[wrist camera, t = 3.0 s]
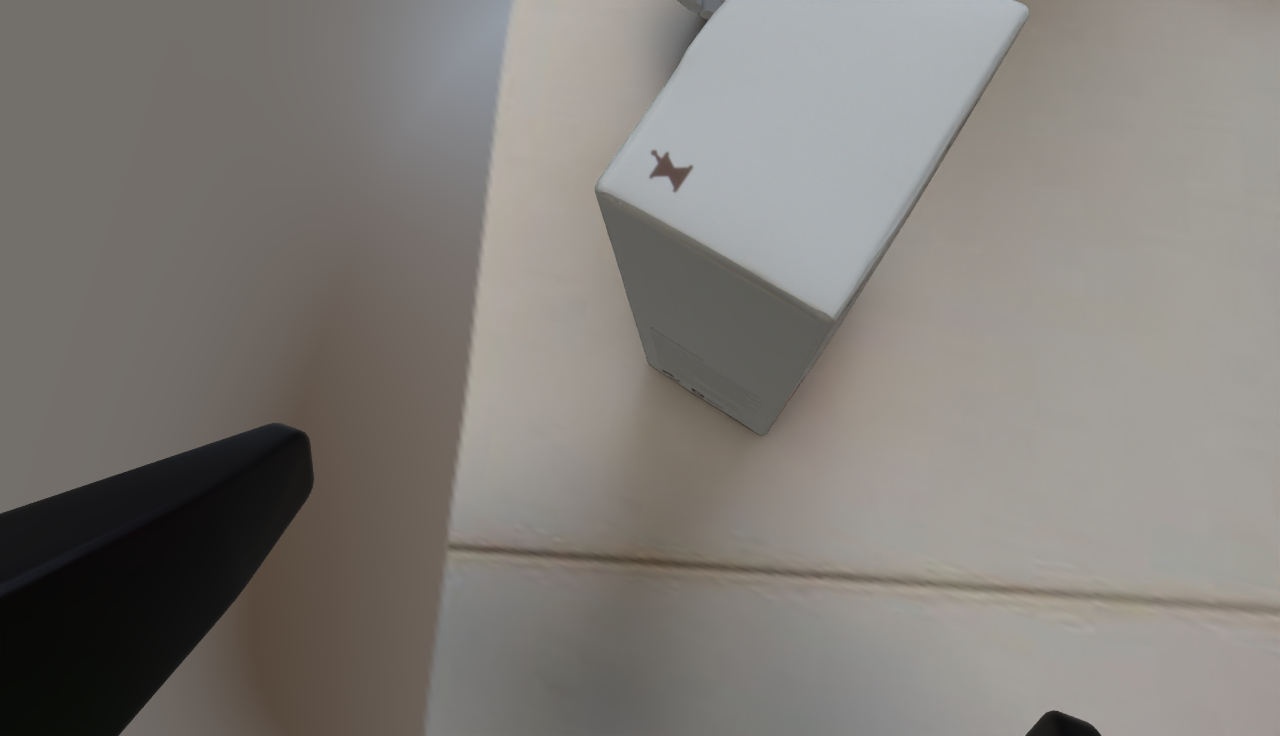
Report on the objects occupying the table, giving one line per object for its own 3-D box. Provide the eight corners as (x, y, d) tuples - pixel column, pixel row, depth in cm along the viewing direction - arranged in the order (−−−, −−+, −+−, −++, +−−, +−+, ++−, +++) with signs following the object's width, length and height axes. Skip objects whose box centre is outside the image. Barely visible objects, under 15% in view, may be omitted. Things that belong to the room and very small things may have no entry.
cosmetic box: (766, 442, 22) (830, 337, 10) (645, 365, 23) (576, 186, 11) (872, 275, 23) (1046, 0, 11) (752, 206, 23) (794, -117, 12)
